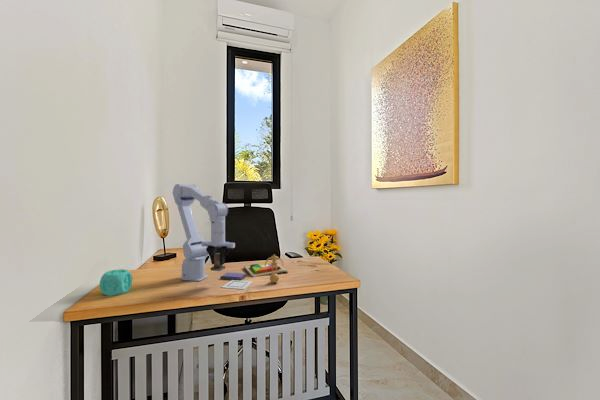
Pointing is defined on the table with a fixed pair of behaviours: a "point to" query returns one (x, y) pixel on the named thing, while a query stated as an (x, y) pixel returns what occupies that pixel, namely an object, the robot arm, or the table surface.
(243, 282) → the card sheet
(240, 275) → the ink pad
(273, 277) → the figurine
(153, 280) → the table surface
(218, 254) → the stamp
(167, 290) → the table surface
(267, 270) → the wooden puzzle
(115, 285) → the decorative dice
